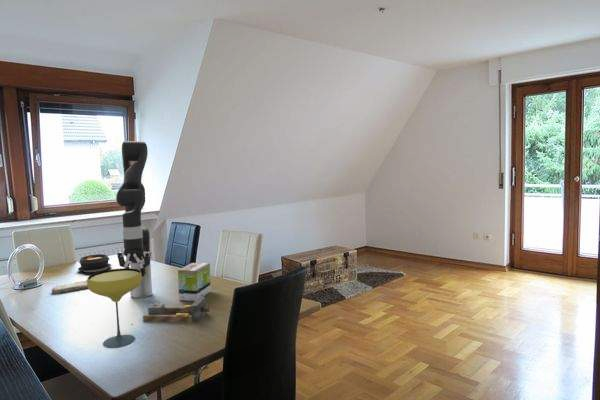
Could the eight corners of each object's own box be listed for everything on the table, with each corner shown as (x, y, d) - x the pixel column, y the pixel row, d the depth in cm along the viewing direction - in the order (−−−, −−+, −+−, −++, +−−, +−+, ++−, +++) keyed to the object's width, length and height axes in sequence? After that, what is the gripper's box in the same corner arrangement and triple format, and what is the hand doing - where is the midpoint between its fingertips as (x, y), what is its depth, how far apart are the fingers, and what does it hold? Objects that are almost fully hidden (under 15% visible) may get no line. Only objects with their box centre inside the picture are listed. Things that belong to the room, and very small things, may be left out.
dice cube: (153, 314, 181) (152, 303, 180) (164, 314, 181) (164, 303, 180) (148, 319, 176) (148, 307, 175) (160, 319, 176) (159, 307, 175)
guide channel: (143, 321, 173) (142, 305, 172) (155, 312, 184) (154, 296, 183) (204, 322, 170) (203, 306, 169) (213, 312, 181) (212, 297, 180)
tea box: (198, 301, 197) (196, 270, 195) (178, 300, 199) (176, 269, 197) (211, 291, 211) (210, 262, 210) (192, 290, 213) (191, 262, 212)
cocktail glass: (90, 356, 143) (85, 284, 140) (93, 336, 159) (88, 272, 157) (147, 346, 150) (142, 277, 147) (144, 328, 166) (140, 265, 164)
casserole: (77, 268, 266) (76, 255, 265) (109, 263, 276) (108, 251, 275) (79, 277, 245) (78, 263, 244) (114, 272, 254) (113, 258, 253)
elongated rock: (50, 294, 219) (54, 300, 211) (48, 284, 218) (53, 290, 210) (119, 277, 241) (125, 281, 234) (118, 268, 240) (124, 272, 233)
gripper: (111, 238, 173) (114, 278, 174) (145, 238, 171) (147, 279, 173) (121, 235, 180) (123, 274, 182) (153, 235, 179) (155, 274, 180)
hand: (135, 276), depth 177 cm, fingers open, 5 cm apart
